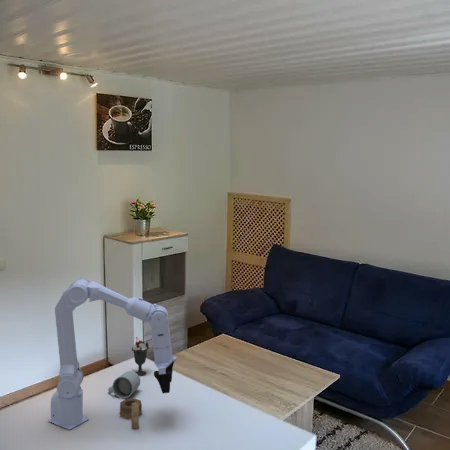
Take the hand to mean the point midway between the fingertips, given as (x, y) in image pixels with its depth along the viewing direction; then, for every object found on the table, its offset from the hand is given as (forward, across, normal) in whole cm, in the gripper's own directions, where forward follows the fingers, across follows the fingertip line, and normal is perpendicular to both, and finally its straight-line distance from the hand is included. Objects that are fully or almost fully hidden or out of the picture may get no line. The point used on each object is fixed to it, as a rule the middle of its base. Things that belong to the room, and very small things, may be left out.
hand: (167, 387), depth 151 cm
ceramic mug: (+8, +18, +18) cm, 27 cm away
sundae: (+9, +36, +15) cm, 40 cm away
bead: (+9, +3, +13) cm, 16 cm away
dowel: (+9, -6, +10) cm, 15 cm away
